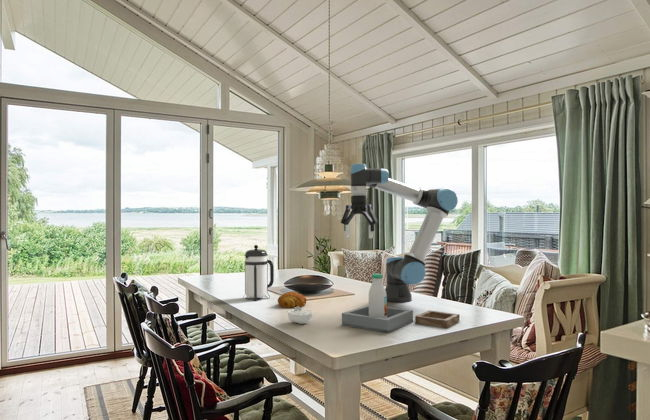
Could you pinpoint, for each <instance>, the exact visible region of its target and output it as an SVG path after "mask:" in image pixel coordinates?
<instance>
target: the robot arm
mask: <svg viewBox="0 0 650 420" xmlns="http://www.w3.org/2000/svg"><path fill="white" fill-rule="evenodd" d="M367 187H371V188H372V189H376V190H378V191H382V192H384V193H386V194H387V193H388V194H389V195H393V196H396V197H399V198H402V199H405V200H408V201H410V202H412V203H413V204H414V205H416V206H418V207H421V208H424V209H426V211H427V212H426V215H425V217H424V219H423V221H422V223H421V225H420V228H419V230H418V232H417V235H416V237H415V239H414V241H413V243H412V246H411V247H410V249H409V252H407V253H405V254H404V256H394V257H393V256H392V257H388V258H386V261H385V262H386V263H385V274H386V278H385V279H386V280H385V282H386V286H385V290H386V295H387V302H390V303H391V302H392V303H393V302H394V303H406V302H411V301H412V300H413V298H412V297H413V296H412V293H411V291H410V287H409V286H411V285H412V286H414V285H418V284H421V282H423V280H424V279H425V276H426V268H425V266H426V264H427V263H426V257H427V255H428V253H429V250H430V249H431V246H432V245H433V244H432V243H433V242H434V241H435V240H434V239H435V237H436V234H437V232H438V231H439V229H440V226H441V224H442V222H443V219H445V218H448V215H449V213H450V211H453V210H454V209H455V208H456V207H457V205H458V197H457V193H456V192H455V191H454V190H453V189H452V188H450V187H442V188H441V187H440V188H434V189H433V188H432V189H431V188H429V189H428V188H423V187H414V186H411V185H408V184H406V183H403V182H400V181H398V180H395V179H392V178H390V172H389V170H388V169H386V168H369V167H367V164H365V163H353V164H351V166H350V192H351V193H350V194H351V195H350V203H351V205H350V204H346V205H345V211H344V213H343V215H342V217H341V219H340V223H341V224H342V225H343V226H344V227H343V229H344V232H345V238H346V239H347V238H351V234H350V232H351V231H350V230H351V229H350V228H351V227H350V222H351V220H352V219H353V218H354V216H355V215H363V217H364V218H365V219H366V221H367V222H368V223H369V224H368V239H374V236H373V235H374V232H375V225H376V224H379V220H378V219H377V216H376V215H375V213H374V210H373V206H372V204H367Z"/></svg>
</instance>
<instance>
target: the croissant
mask: <svg viewBox="0 0 650 420" xmlns="http://www.w3.org/2000/svg"><path fill="white" fill-rule="evenodd" d="M307 299H308V298H307V297H306V296H305V295H303V294H302V293H299V292H297V291H287V292H285V293H282V294H281V295H280V296H279V297H278V298H277V303H278V305H279V307H281V308H284V309H289V308H290V309H295V307H301V308H302V307H304V306H305V305H306V304H307Z"/></svg>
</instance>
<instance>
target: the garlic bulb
mask: <svg viewBox="0 0 650 420" xmlns="http://www.w3.org/2000/svg"><path fill="white" fill-rule="evenodd" d="M286 312H287V315H288V320H289V321H291V322H292V323H295V324H299V325H301V324H302V325H303V324H307V323H309V322H310V321H311V319H312V317H313V311H312V310H309V309H305V308H302V307H296V308H295V307H294V308H293V309H290V310H288V311H286Z"/></svg>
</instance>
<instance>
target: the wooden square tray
mask: <svg viewBox="0 0 650 420" xmlns="http://www.w3.org/2000/svg"><path fill="white" fill-rule="evenodd" d="M414 319H415V322H414V323H415V324H417V325H423V326H430V327H436V328H445V329H449V328H450V327H452V326H453V325H456V324H457V323H459V322H460V320H461V319H460V314H459V313H451V312H444V311H436V310H427V311H424V312H423V313H420V314H418V315H415V317H414Z"/></svg>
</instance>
